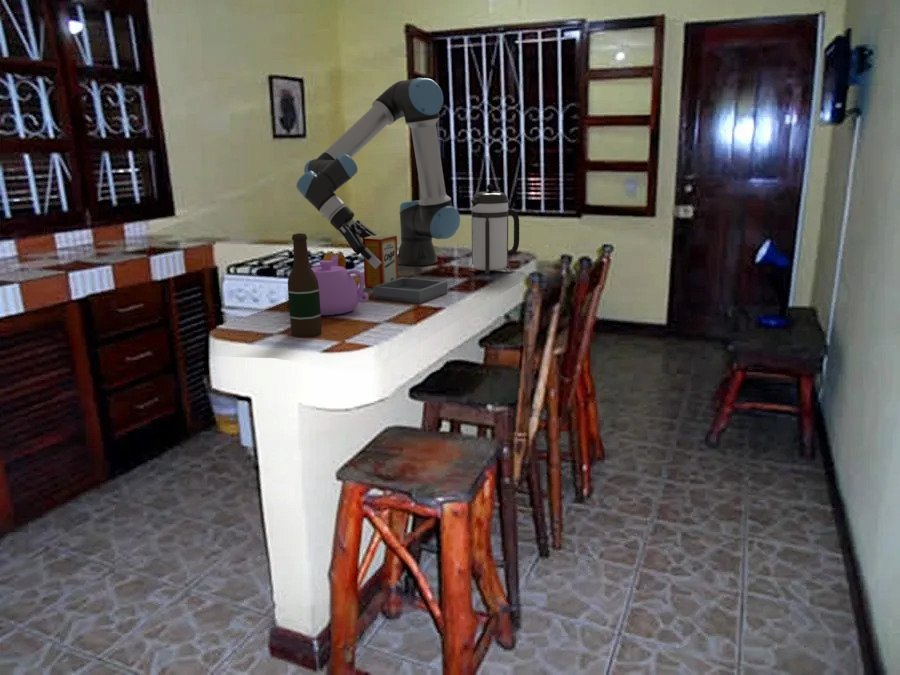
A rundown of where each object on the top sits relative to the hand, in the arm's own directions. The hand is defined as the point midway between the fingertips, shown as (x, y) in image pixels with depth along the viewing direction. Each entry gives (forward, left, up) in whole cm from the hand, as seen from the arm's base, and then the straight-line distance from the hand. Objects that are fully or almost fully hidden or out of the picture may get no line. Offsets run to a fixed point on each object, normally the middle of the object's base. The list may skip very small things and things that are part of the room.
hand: (385, 262), depth 220 cm
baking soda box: (0, -2, -8) cm, 8 cm away
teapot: (+32, +4, -8) cm, 34 cm away
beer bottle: (+55, +14, -8) cm, 58 cm away
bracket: (+14, -8, -8) cm, 18 cm away
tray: (+8, +14, -8) cm, 18 cm away
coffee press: (-37, +19, -8) cm, 43 cm away
